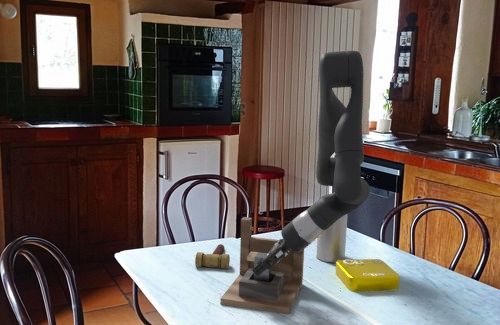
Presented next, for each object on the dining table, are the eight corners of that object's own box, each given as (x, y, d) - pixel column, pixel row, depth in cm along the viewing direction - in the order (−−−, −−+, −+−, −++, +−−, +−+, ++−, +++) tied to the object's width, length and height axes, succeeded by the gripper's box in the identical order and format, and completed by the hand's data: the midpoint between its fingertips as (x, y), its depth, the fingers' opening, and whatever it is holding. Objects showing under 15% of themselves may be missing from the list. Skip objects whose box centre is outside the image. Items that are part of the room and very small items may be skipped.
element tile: (350, 293, 147) (351, 276, 147) (333, 273, 162) (334, 258, 161) (401, 291, 150) (402, 275, 149) (380, 271, 164) (381, 256, 164)
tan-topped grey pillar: (249, 286, 145) (251, 251, 143) (271, 289, 144) (272, 253, 142) (245, 292, 141) (247, 256, 140) (267, 295, 140) (269, 258, 138)
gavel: (207, 238, 182) (236, 239, 181) (207, 251, 182) (236, 253, 181) (195, 254, 161) (227, 256, 160) (194, 269, 162) (227, 271, 161)
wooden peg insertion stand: (241, 276, 156) (243, 216, 153) (302, 284, 152) (305, 223, 149) (220, 303, 137) (221, 236, 134) (288, 314, 133) (292, 244, 130)
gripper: (298, 212, 144) (256, 248, 148) (288, 226, 130) (242, 265, 135) (317, 233, 143) (274, 268, 148) (308, 249, 130) (261, 288, 134)
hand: (259, 267), depth 141 cm, fingers open, 8 cm apart
